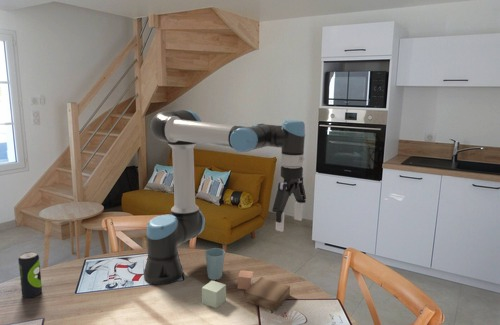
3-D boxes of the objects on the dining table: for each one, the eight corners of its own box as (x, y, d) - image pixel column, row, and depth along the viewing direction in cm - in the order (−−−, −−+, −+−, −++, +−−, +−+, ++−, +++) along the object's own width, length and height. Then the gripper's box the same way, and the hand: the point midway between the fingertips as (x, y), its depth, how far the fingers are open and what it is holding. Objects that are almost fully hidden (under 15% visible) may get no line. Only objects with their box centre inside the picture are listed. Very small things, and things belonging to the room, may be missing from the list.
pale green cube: (201, 303, 130) (201, 287, 129) (211, 295, 136) (212, 280, 134) (216, 308, 128) (216, 292, 126) (225, 300, 133) (226, 284, 132)
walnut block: (244, 302, 132) (244, 291, 132) (260, 287, 143) (260, 277, 142) (275, 312, 127) (275, 301, 126) (289, 296, 137) (290, 286, 136)
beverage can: (19, 293, 134) (15, 254, 131) (38, 287, 138) (35, 249, 135) (25, 300, 129) (21, 260, 127) (44, 293, 134) (41, 254, 131)
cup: (223, 271, 154) (223, 247, 152) (225, 280, 146) (226, 255, 144) (205, 272, 152) (204, 248, 150) (206, 282, 145) (206, 256, 143)
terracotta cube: (237, 288, 140) (237, 276, 140) (240, 282, 145) (240, 270, 144) (250, 290, 140) (251, 278, 139) (252, 283, 145) (253, 271, 144)
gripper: (283, 173, 115) (280, 238, 119) (317, 162, 136) (313, 217, 140) (263, 170, 119) (261, 233, 124) (298, 159, 140) (295, 213, 144)
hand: (289, 225), depth 132 cm, fingers open, 13 cm apart
